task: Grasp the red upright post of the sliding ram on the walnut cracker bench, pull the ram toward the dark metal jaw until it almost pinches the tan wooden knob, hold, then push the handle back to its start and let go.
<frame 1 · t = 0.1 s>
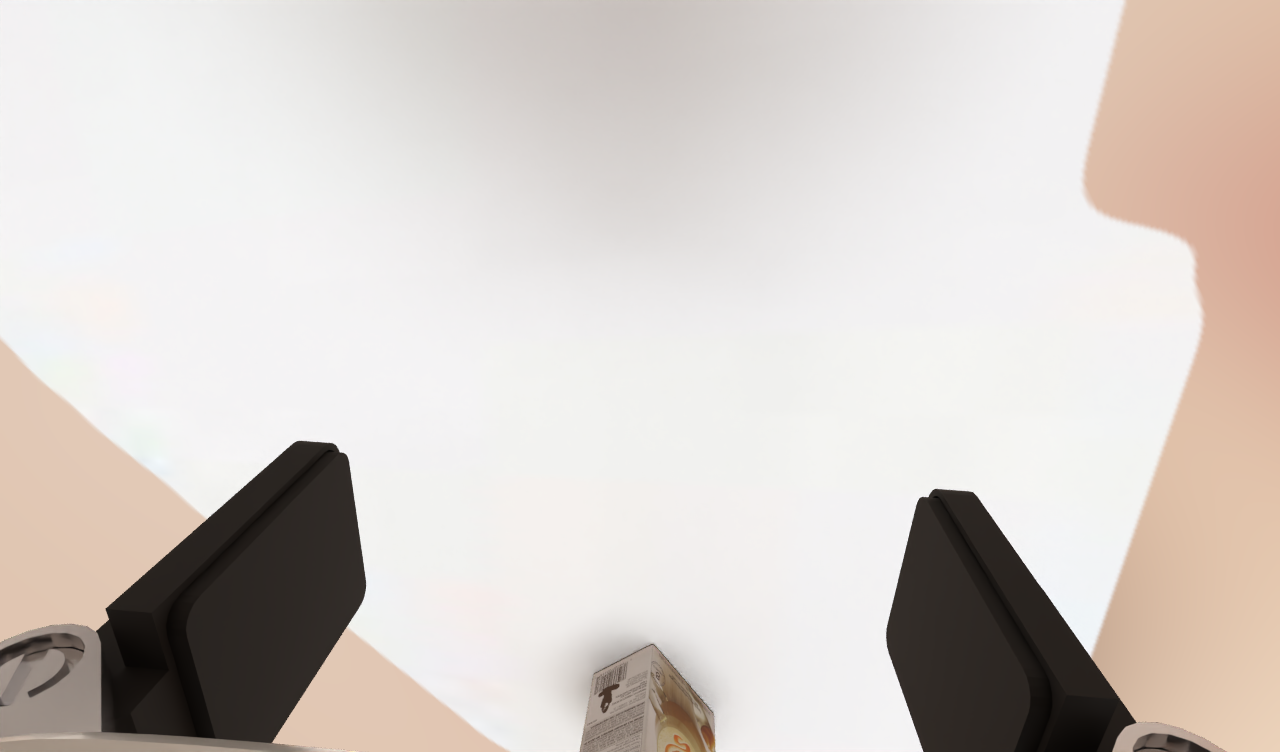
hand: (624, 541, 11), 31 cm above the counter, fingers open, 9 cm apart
coffee box: (654, 691, 55), on the counter
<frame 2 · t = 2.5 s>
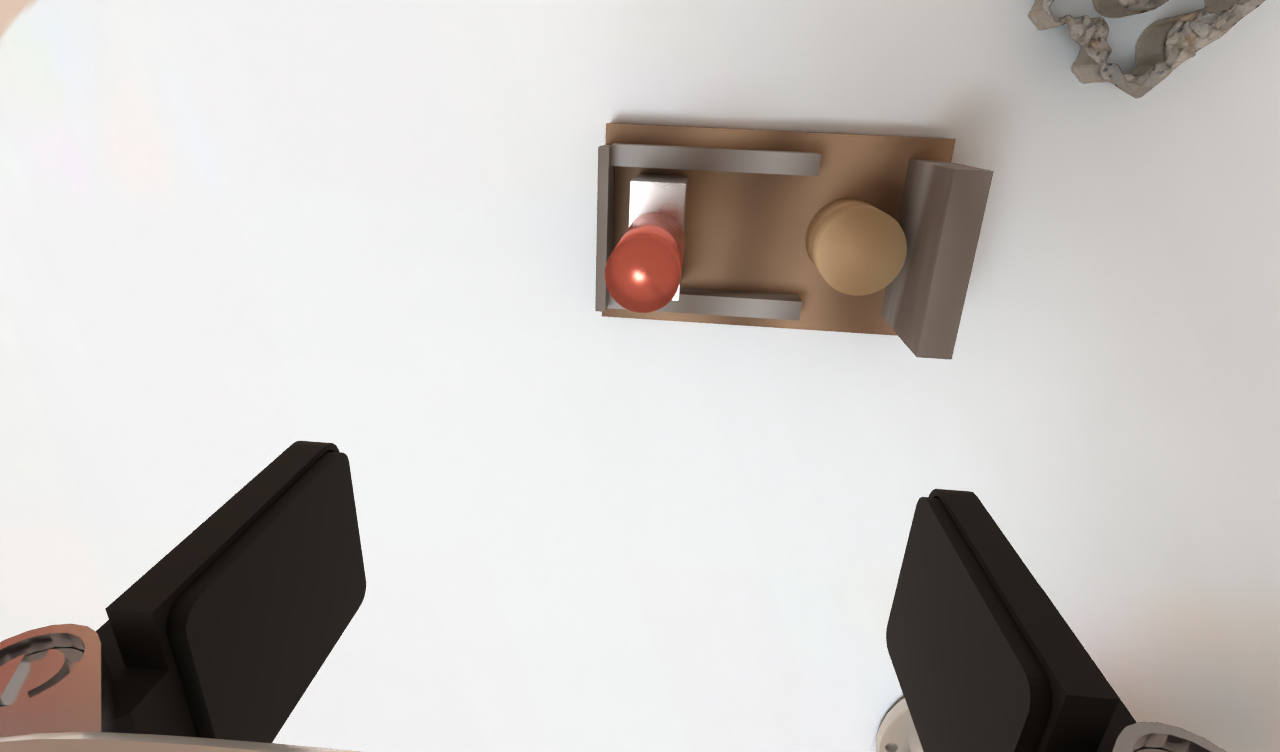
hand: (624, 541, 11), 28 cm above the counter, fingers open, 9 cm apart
cracker bench: (764, 229, 36), on the counter
tan wooden knob: (844, 238, 35), point 1 cm above the counter, touching cracker bench
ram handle: (652, 248, 30), point 7 cm above the counter, slide at 0.0 cm
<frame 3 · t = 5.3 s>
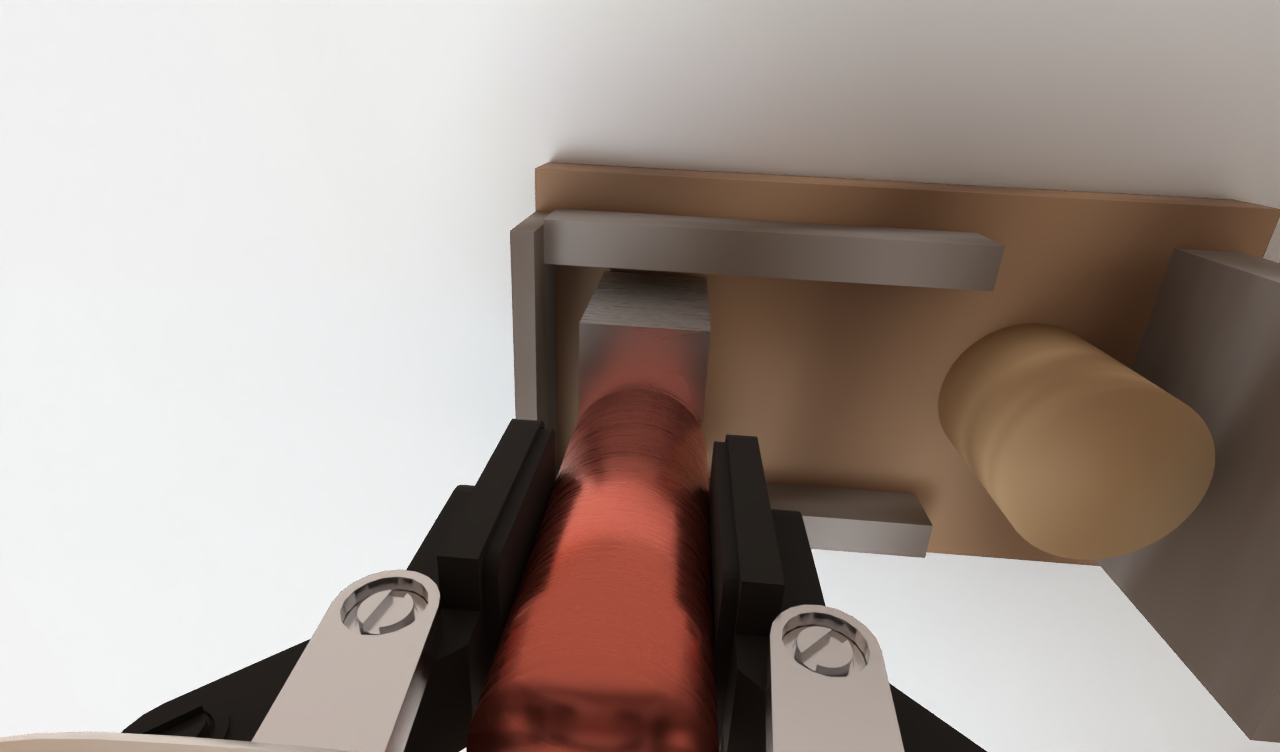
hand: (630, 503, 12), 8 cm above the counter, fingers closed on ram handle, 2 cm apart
cracker bench: (849, 364, 19), on the counter
tan wooden knob: (1018, 397, 17), point 1 cm above the counter, touching cracker bench
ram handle: (632, 491, 12), point 7 cm above the counter, slide at 0.0 cm, touching gripper
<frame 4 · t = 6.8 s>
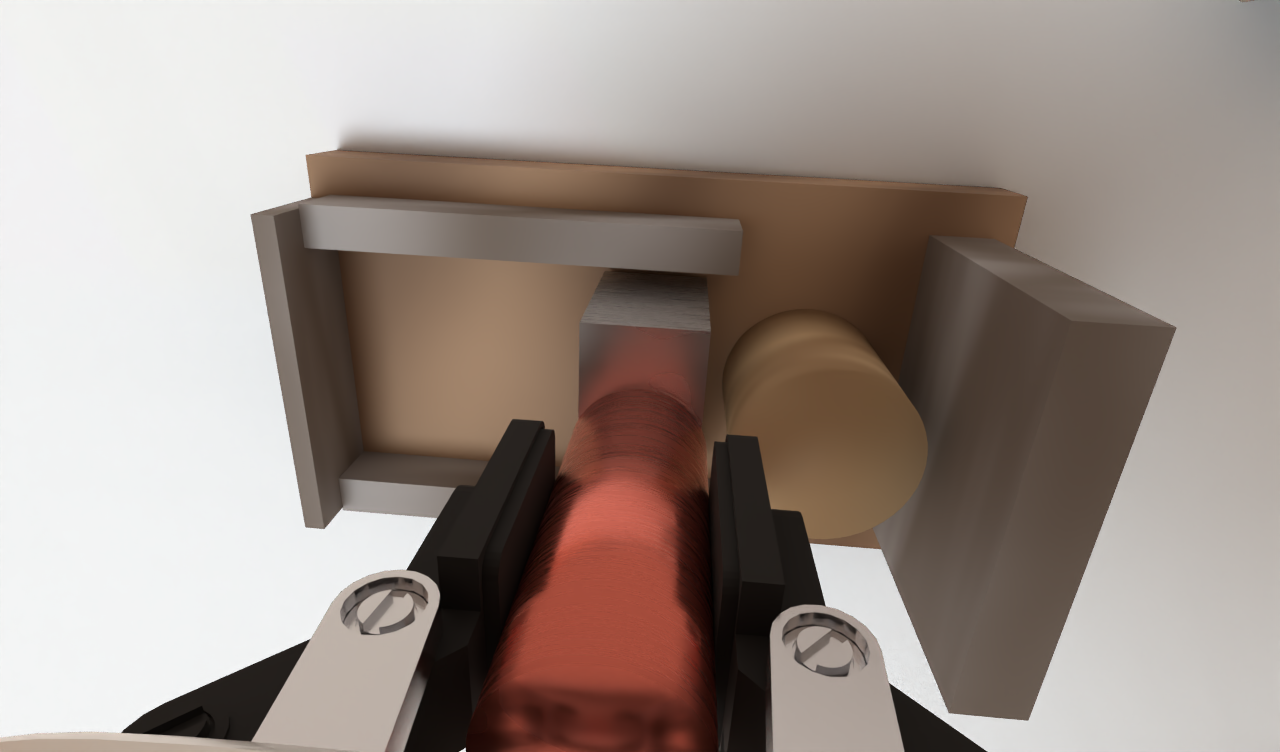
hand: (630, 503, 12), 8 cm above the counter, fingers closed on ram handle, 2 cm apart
cracker bench: (649, 351, 19), on the counter
tan wooden knob: (799, 382, 18), point 1 cm above the counter, touching cracker bench
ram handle: (632, 491, 12), point 7 cm above the counter, slide at 5.6 cm, touching gripper
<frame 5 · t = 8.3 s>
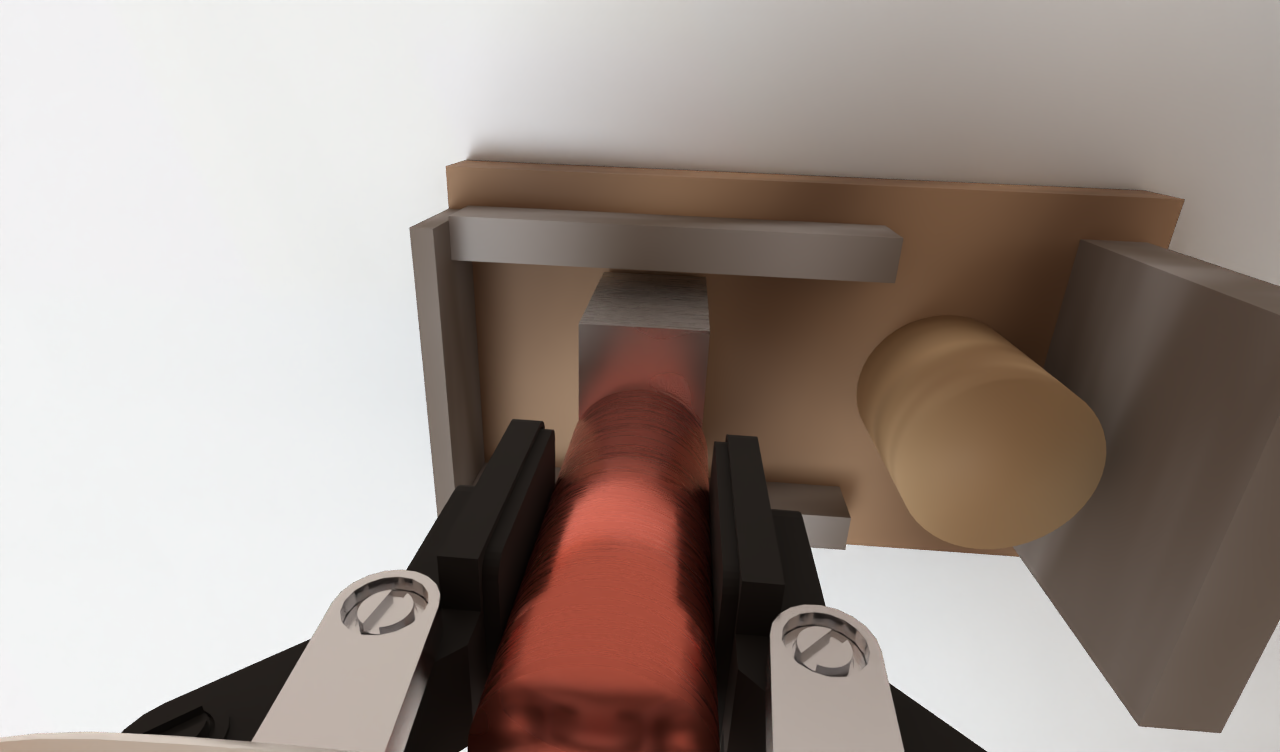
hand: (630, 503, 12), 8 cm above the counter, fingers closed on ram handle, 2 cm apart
cracker bench: (773, 358, 19), on the counter
tan wooden knob: (935, 389, 17), point 1 cm above the counter, touching cracker bench
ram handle: (633, 491, 12), point 7 cm above the counter, slide at 2.1 cm, touching gripper
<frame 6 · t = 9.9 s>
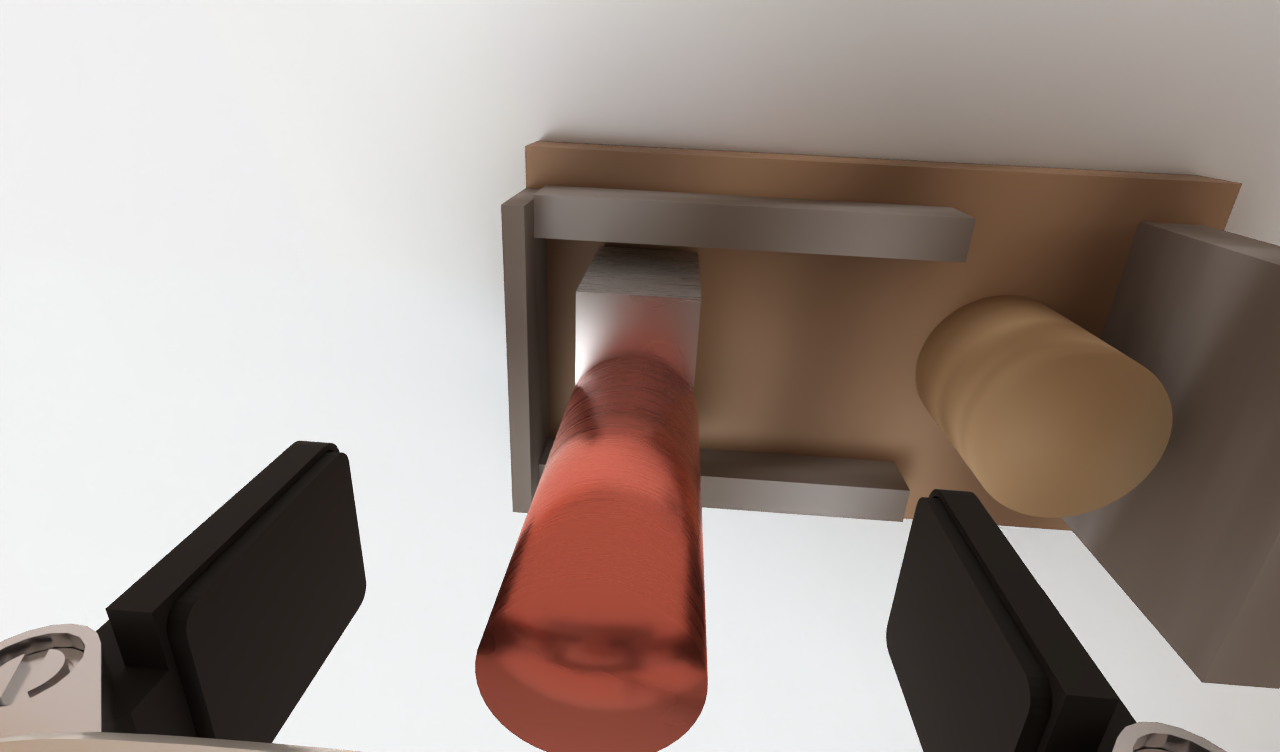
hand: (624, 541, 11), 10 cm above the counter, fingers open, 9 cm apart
cracker bench: (830, 338, 20), on the counter
tan wooden knob: (992, 366, 18), point 1 cm above the counter, touching cracker bench
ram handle: (627, 451, 13), point 7 cm above the counter, slide at 0.2 cm
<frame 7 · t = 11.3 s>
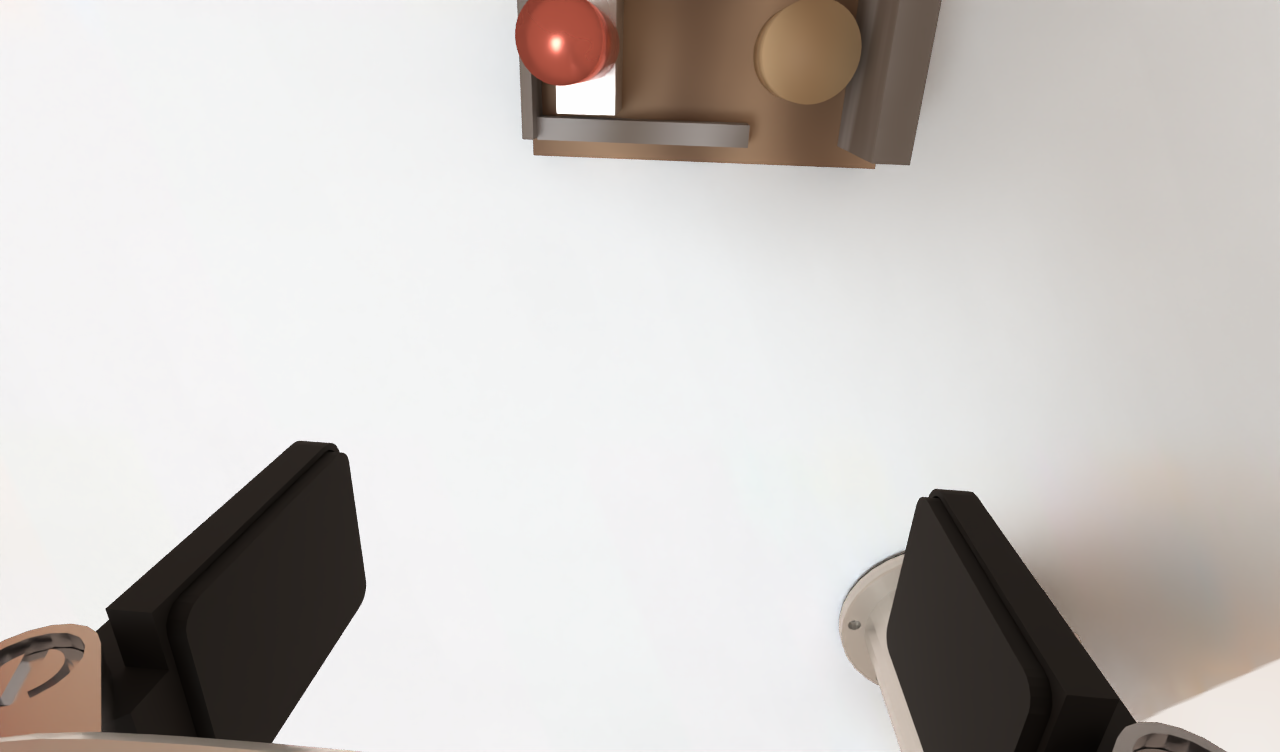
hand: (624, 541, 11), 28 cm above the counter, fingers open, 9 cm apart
cracker bench: (709, 51, 33), on the counter
tan wooden knob: (796, 53, 31), point 1 cm above the counter, touching cracker bench
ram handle: (581, 43, 27), point 7 cm above the counter, slide at 0.2 cm
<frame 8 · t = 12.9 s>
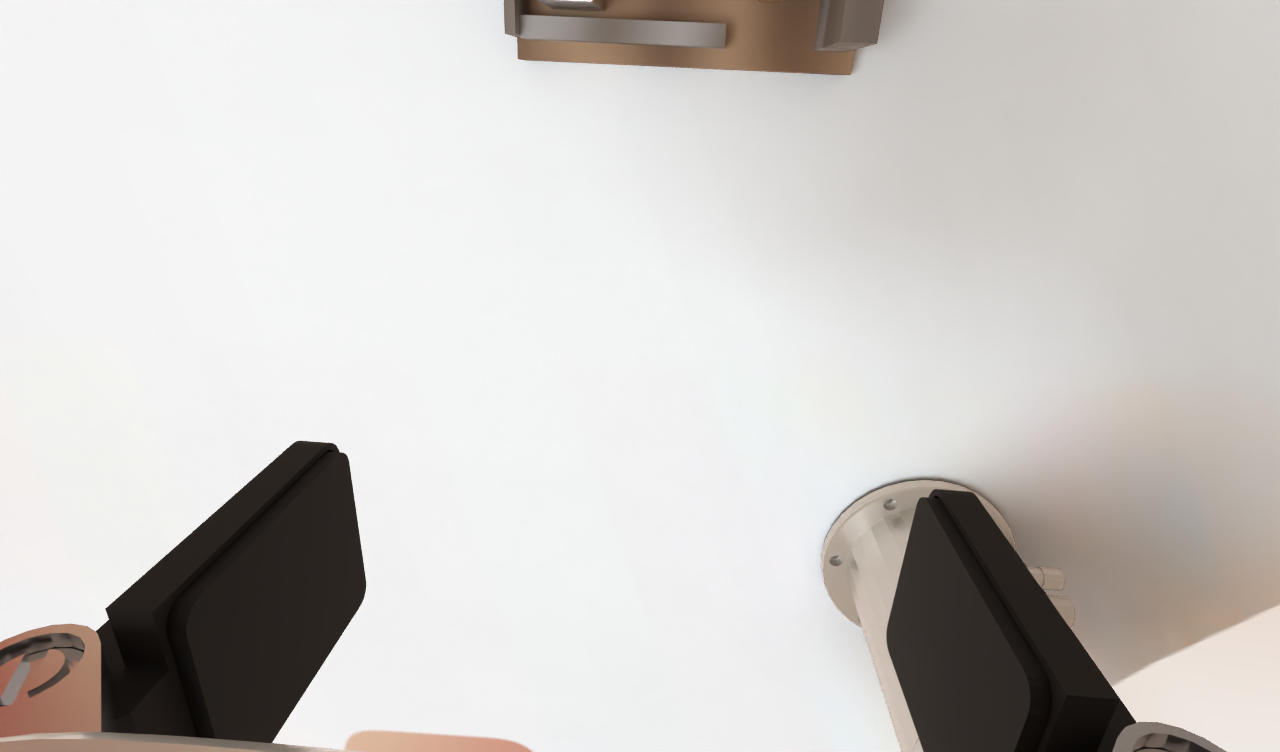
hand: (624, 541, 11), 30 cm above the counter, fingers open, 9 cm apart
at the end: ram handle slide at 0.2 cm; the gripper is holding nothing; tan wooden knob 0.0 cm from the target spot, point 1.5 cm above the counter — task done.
